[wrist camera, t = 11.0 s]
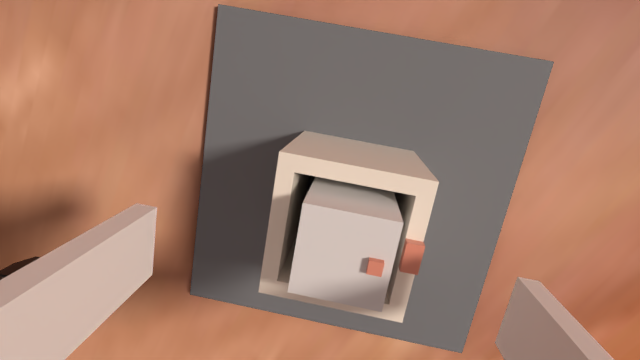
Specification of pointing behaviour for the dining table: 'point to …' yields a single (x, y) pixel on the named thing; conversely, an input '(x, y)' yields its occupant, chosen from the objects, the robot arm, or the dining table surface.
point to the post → (351, 199)
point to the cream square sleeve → (357, 168)
